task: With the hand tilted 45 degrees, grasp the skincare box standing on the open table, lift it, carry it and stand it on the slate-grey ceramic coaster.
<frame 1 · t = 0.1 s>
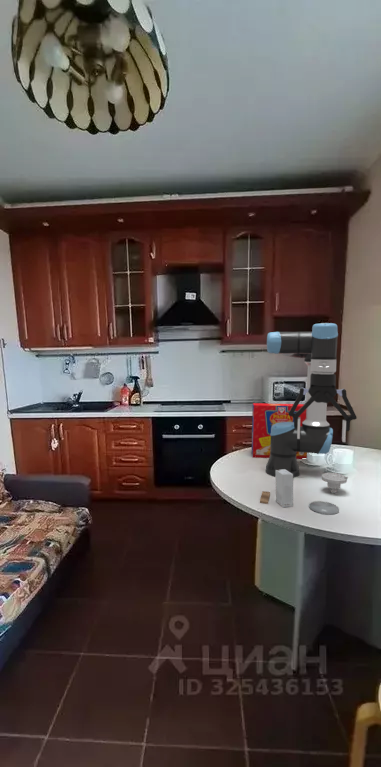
hand: (320, 439, 118), 28 cm above the table, tool pointing down, fingers open, 13 cm apart
walnut board: (265, 498, 140), on the table
pasta box: (278, 456, 197), on the table
skincare box: (283, 504, 136), on the table
showerhead: (334, 492, 147), on the table
coaster: (323, 508, 132), on the table
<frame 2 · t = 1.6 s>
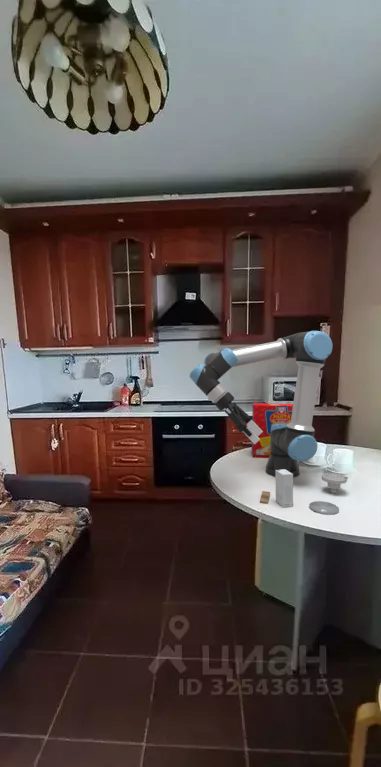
hand: (258, 437, 142), 23 cm above the table, tool tilted 45°, fingers open, 13 cm apart
nothing on the table moved.
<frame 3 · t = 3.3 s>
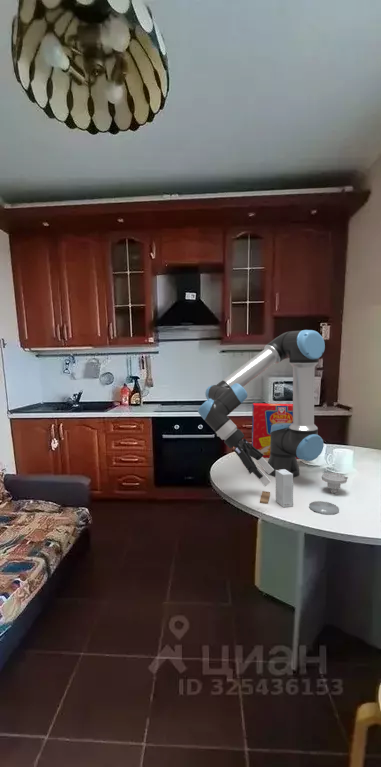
hand: (269, 477, 135), 10 cm above the table, tool tilted 45°, fingers open, 13 cm apart
nothing on the table moved.
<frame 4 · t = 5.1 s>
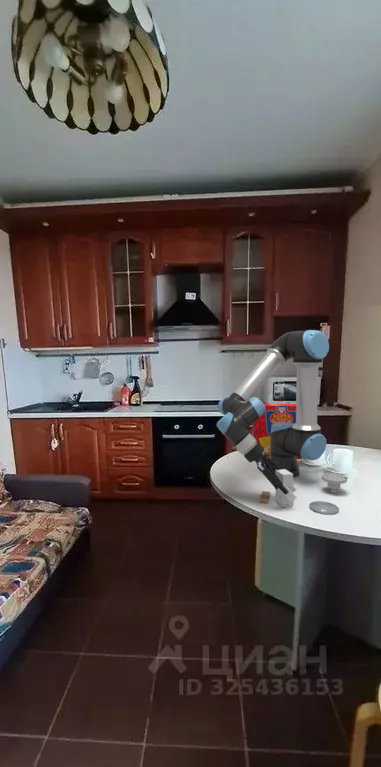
hand: (293, 495, 134), 4 cm above the table, tool tilted 45°, fingers closed on skincare box, 7 cm apart
skincare box: (283, 504, 136), on the table, touching gripper
everything else where it was.
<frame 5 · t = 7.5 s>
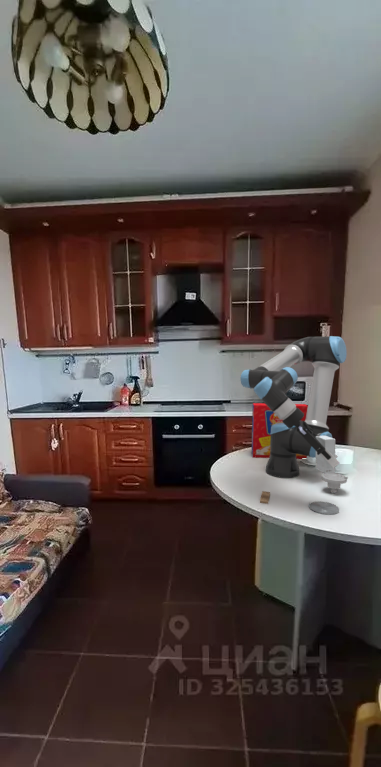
hand: (335, 461, 129), 17 cm above the table, tool tilted 45°, fingers closed on skincare box, 7 cm apart
skincare box: (324, 471, 130), point 14 cm above the table, touching gripper
everything else where it was.
when the fingers open (5 cm above the table, at t = 10.2 s): skincare box drops 1 cm, resting on coaster.
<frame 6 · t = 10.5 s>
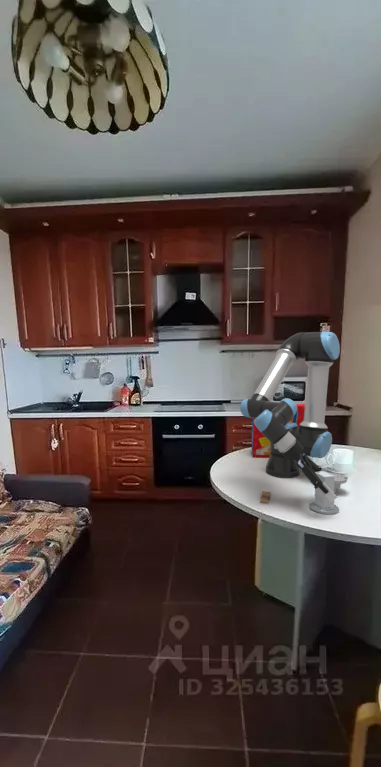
hand: (332, 492, 130), 6 cm above the table, tool tilted 45°, fingers open, 11 cm apart
skincare box: (323, 507, 132), resting on coaster
everything else where it was.
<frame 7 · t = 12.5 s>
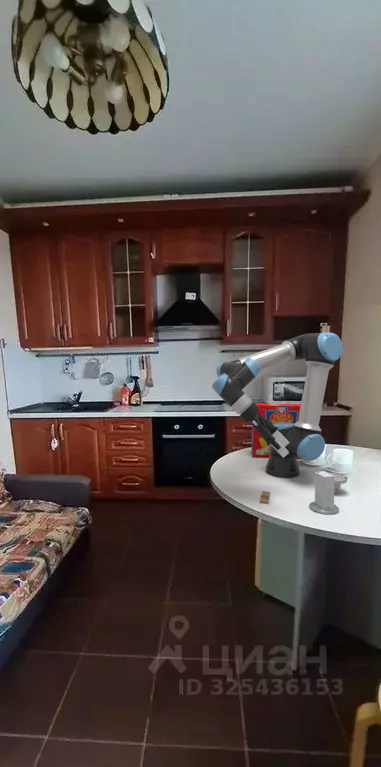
hand: (286, 449, 136), 20 cm above the table, tool tilted 45°, fingers open, 13 cm apart
nothing on the table moved.
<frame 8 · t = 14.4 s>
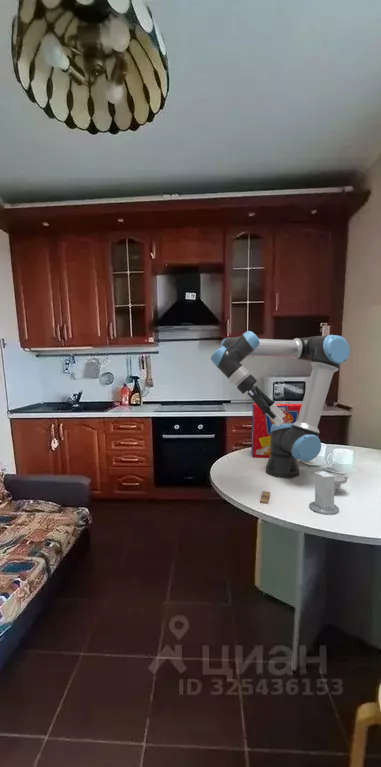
hand: (282, 421, 139), 30 cm above the table, tool tilted 45°, fingers open, 13 cm apart
nothing on the table moved.
at the end: skincare box 0.2 cm from the coaster (horizontally); skincare box tilted 0°; the gripper is holding nothing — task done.
